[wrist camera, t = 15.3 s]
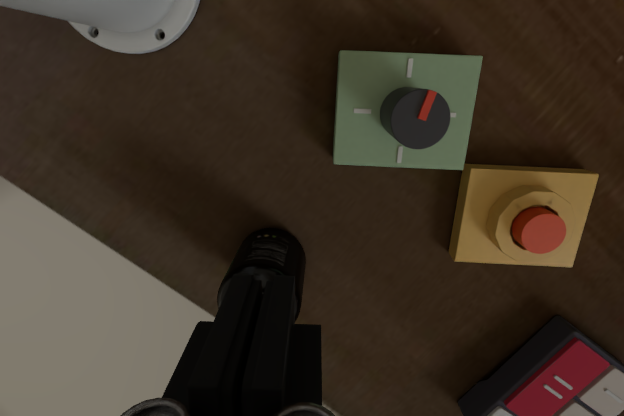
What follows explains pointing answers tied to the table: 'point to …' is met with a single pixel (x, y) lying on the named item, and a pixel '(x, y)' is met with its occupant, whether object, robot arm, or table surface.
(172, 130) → the table surface
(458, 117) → the dial panel
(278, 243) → the supplement bottle
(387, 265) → the table surface
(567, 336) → the calculator
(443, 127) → the lock dial
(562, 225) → the button
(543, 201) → the tan flat block
